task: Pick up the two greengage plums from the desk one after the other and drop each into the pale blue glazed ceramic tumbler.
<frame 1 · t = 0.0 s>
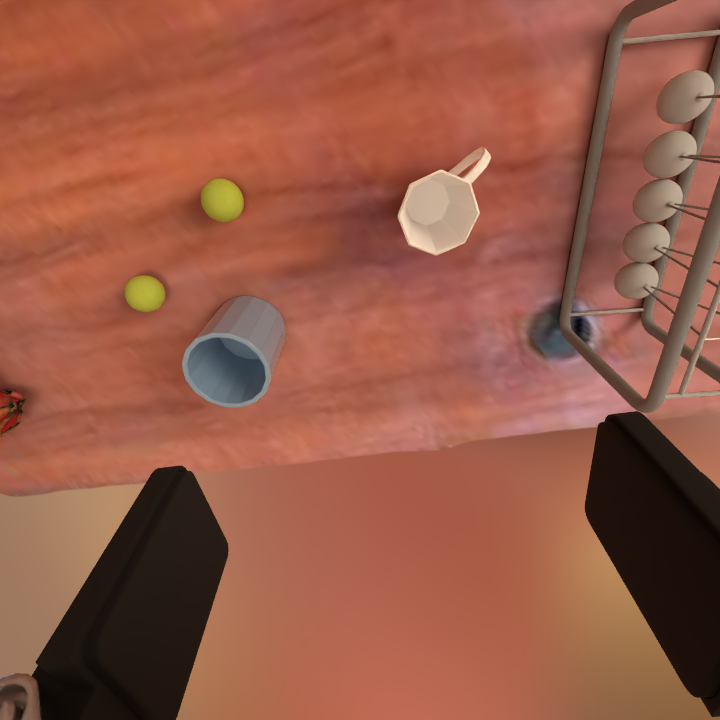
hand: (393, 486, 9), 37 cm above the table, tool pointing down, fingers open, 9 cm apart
newton's cradle: (629, 194, 41), on the table
plum b: (153, 287, 46), on the table
tumbler: (250, 329, 49), on the table
cup: (436, 188, 41), on the table
plum a: (228, 197, 41), on the table
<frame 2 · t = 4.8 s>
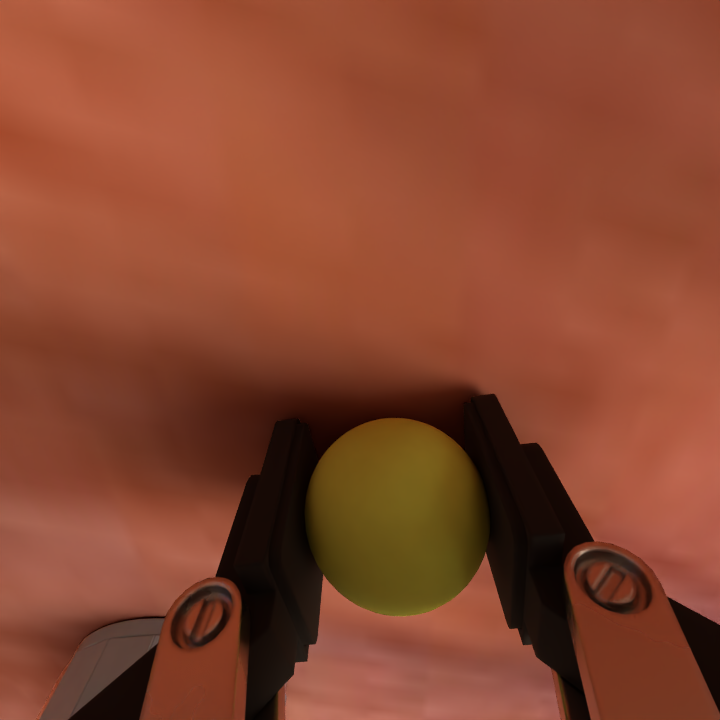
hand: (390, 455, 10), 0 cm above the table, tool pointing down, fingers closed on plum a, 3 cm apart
tumbler: (184, 674, 17), on the table
plum a: (390, 447, 11), on the table, touching gripper
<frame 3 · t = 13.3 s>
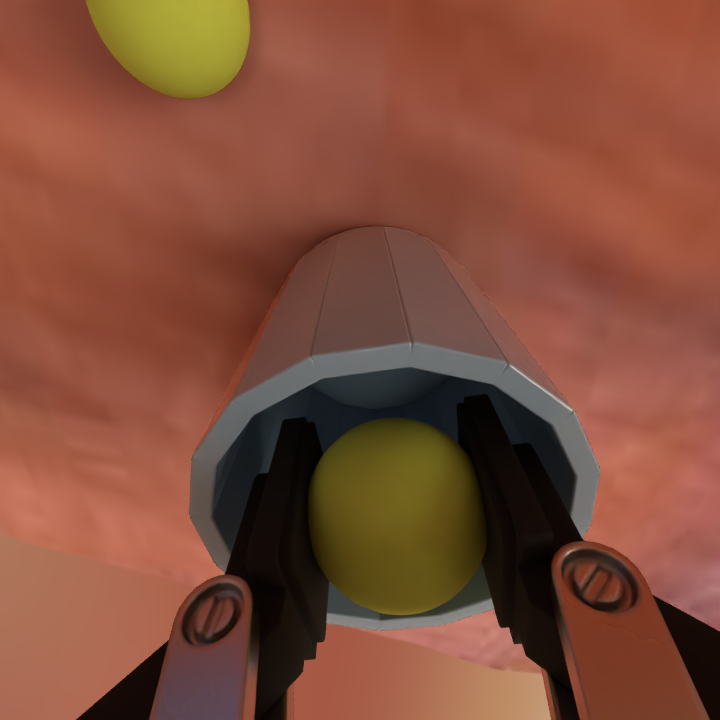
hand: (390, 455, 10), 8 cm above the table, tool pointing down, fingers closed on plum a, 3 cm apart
plum b: (198, 26, 12), on the table
tumbler: (376, 328, 17), on the table
plum a: (390, 447, 11), point 8 cm above the table, touching gripper
when the fingers open (11 cm above the table, at t = 22.0 s): plum a drops 10 cm, resting on tumbler.
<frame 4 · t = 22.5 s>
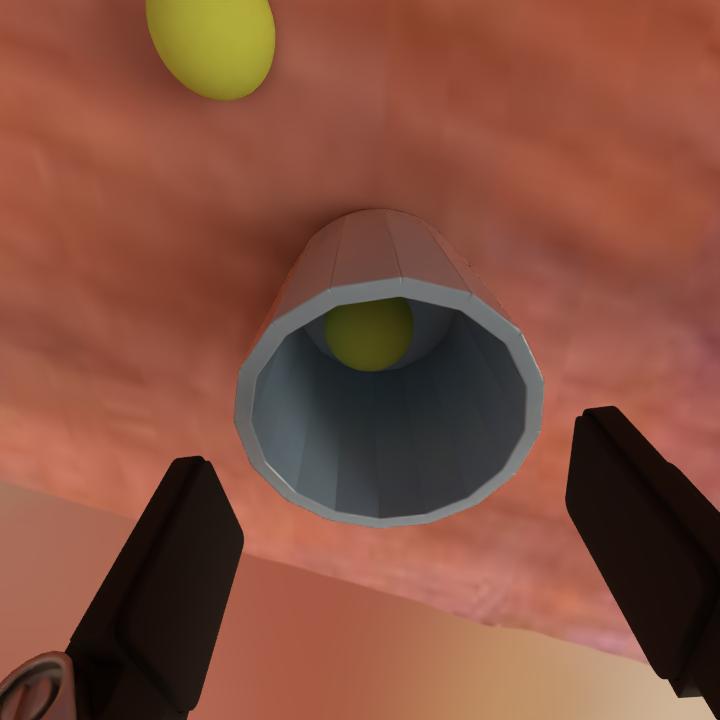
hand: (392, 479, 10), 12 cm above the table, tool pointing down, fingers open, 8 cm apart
plum b: (230, 41, 15), on the table
tumbler: (376, 299, 20), on the table
plum a: (378, 306, 20), point 1 cm above the table, tilted 15°, touching tumbler
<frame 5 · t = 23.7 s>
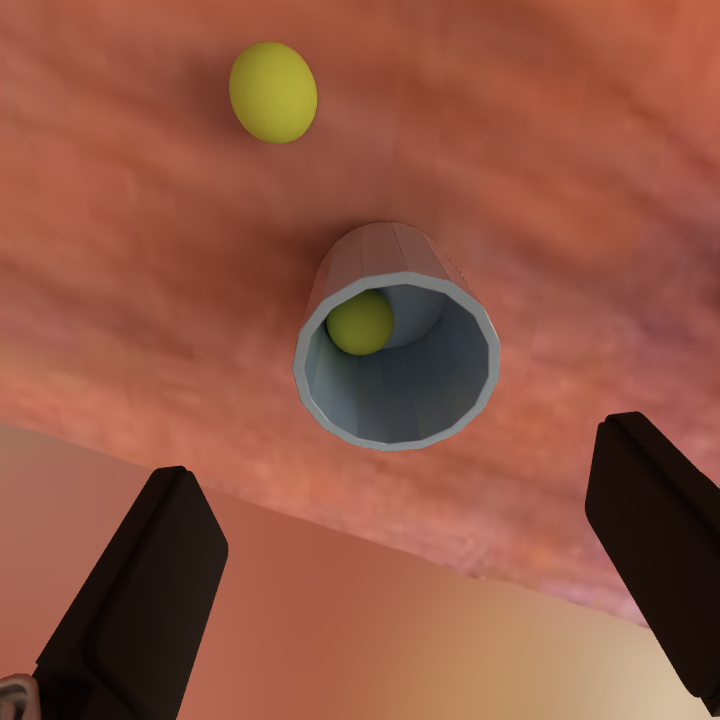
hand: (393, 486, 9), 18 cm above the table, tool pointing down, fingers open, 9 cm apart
plum b: (281, 98, 21), on the table
tumbler: (384, 291, 26), on the table
plum a: (382, 302, 25), point 1 cm above the table, tilted 51°, touching tumbler
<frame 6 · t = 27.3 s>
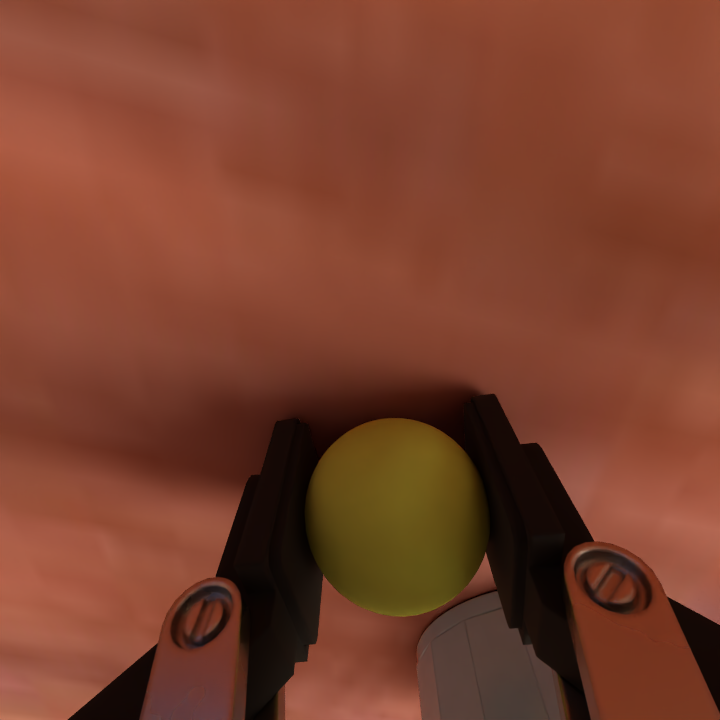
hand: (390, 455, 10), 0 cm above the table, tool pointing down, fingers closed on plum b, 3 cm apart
plum b: (390, 447, 11), on the table, touching gripper
tumbler: (526, 649, 16), on the table
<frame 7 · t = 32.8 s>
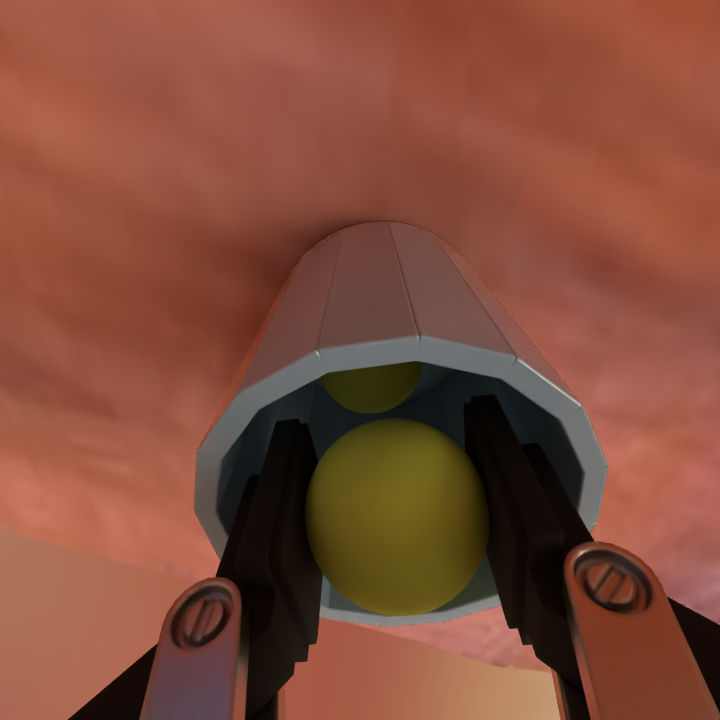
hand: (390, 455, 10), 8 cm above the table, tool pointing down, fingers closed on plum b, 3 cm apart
plum b: (390, 447, 11), point 8 cm above the table, touching gripper
tumbler: (379, 324, 17), on the table
plum a: (381, 333, 17), point 1 cm above the table, tilted 16°, touching tumbler
when the fingers open (11 cm above the table, at t = 44.3 s): plum b drops 5 cm and tips over, resting on plum a, tumbler.
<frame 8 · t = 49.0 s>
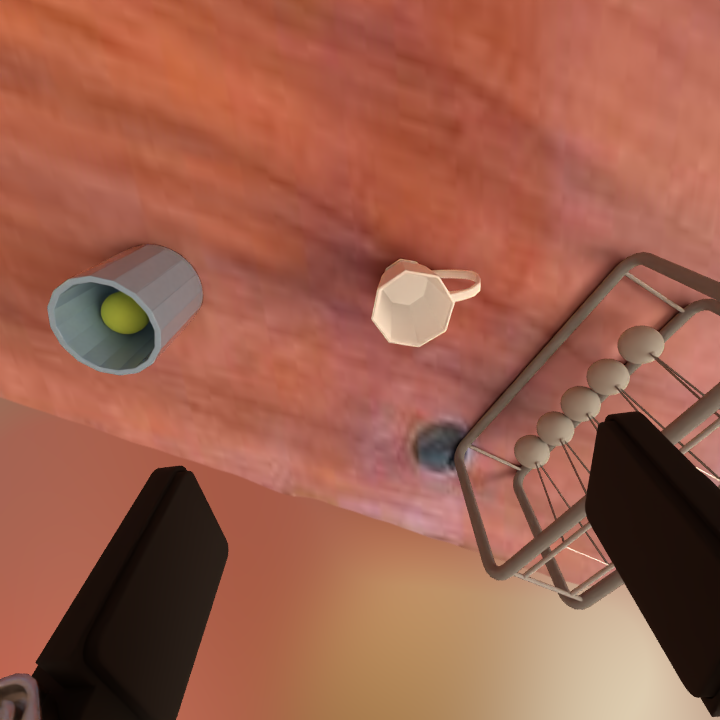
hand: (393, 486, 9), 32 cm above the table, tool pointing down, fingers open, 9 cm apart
newton's cradle: (562, 381, 46), on the table
plum b: (133, 309, 36), point 5 cm above the table, tilted 124°, touching plum a, tumbler
tumbler: (160, 287, 41), on the table
cup: (418, 276, 40), on the table
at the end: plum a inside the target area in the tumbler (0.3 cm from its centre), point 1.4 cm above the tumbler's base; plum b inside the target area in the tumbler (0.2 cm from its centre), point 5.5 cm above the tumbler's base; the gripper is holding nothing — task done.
